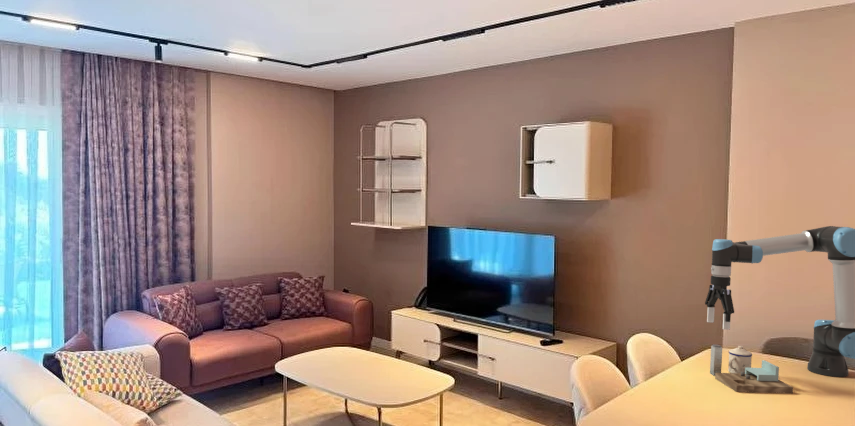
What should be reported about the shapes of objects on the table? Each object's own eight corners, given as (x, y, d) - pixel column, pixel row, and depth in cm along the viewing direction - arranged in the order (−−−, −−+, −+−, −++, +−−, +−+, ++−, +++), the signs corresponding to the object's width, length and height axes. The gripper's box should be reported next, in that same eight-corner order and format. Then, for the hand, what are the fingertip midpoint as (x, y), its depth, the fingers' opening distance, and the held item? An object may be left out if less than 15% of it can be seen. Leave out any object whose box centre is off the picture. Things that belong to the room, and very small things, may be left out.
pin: (717, 373, 260) (718, 344, 260) (721, 375, 257) (722, 346, 256) (709, 373, 260) (711, 344, 260) (713, 375, 257) (714, 346, 256)
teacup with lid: (735, 368, 269) (736, 342, 268) (755, 374, 261) (757, 347, 261) (719, 372, 262) (720, 345, 262) (739, 378, 254) (741, 350, 254)
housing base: (767, 380, 253) (768, 370, 252) (792, 393, 236) (793, 383, 235) (715, 378, 252) (715, 369, 252) (736, 392, 235) (736, 381, 235)
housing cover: (764, 373, 252) (764, 360, 252) (778, 381, 242) (779, 367, 242) (744, 373, 252) (745, 359, 252) (758, 380, 242) (759, 366, 242)
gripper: (698, 271, 269) (695, 319, 270) (726, 279, 244) (724, 332, 245) (715, 272, 269) (712, 319, 270) (745, 280, 244) (742, 332, 245)
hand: (718, 325), depth 258 cm, fingers open, 13 cm apart
